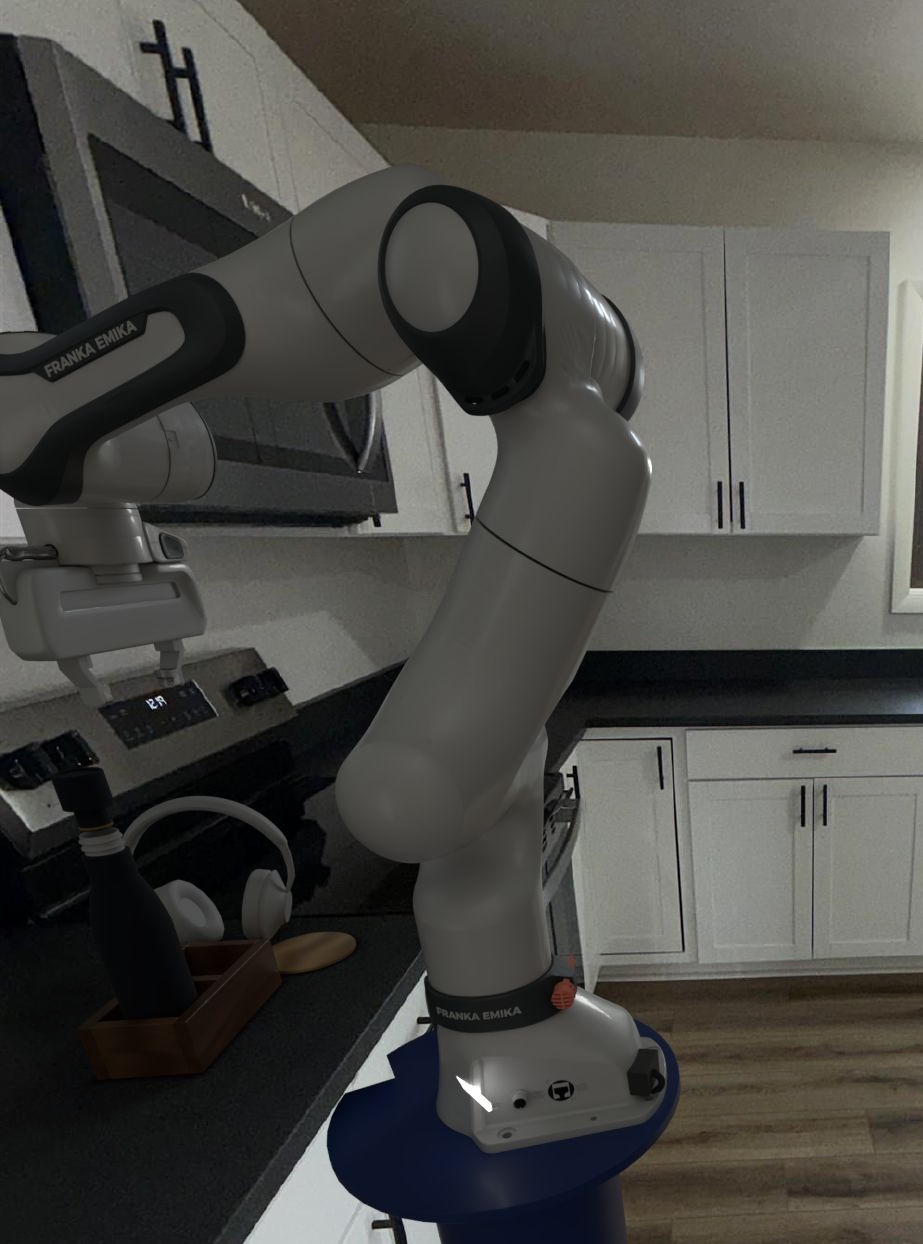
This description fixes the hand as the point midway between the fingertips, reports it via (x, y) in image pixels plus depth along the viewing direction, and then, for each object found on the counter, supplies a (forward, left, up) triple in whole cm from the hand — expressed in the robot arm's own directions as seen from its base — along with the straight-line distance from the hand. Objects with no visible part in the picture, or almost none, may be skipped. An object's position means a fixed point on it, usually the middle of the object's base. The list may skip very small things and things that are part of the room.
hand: (138, 695), depth 84 cm
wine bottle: (+2, +9, -35) cm, 37 cm away
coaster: (-3, -12, -35) cm, 37 cm away
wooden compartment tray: (+2, +5, -35) cm, 36 cm away
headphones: (+8, -16, -35) cm, 39 cm away
